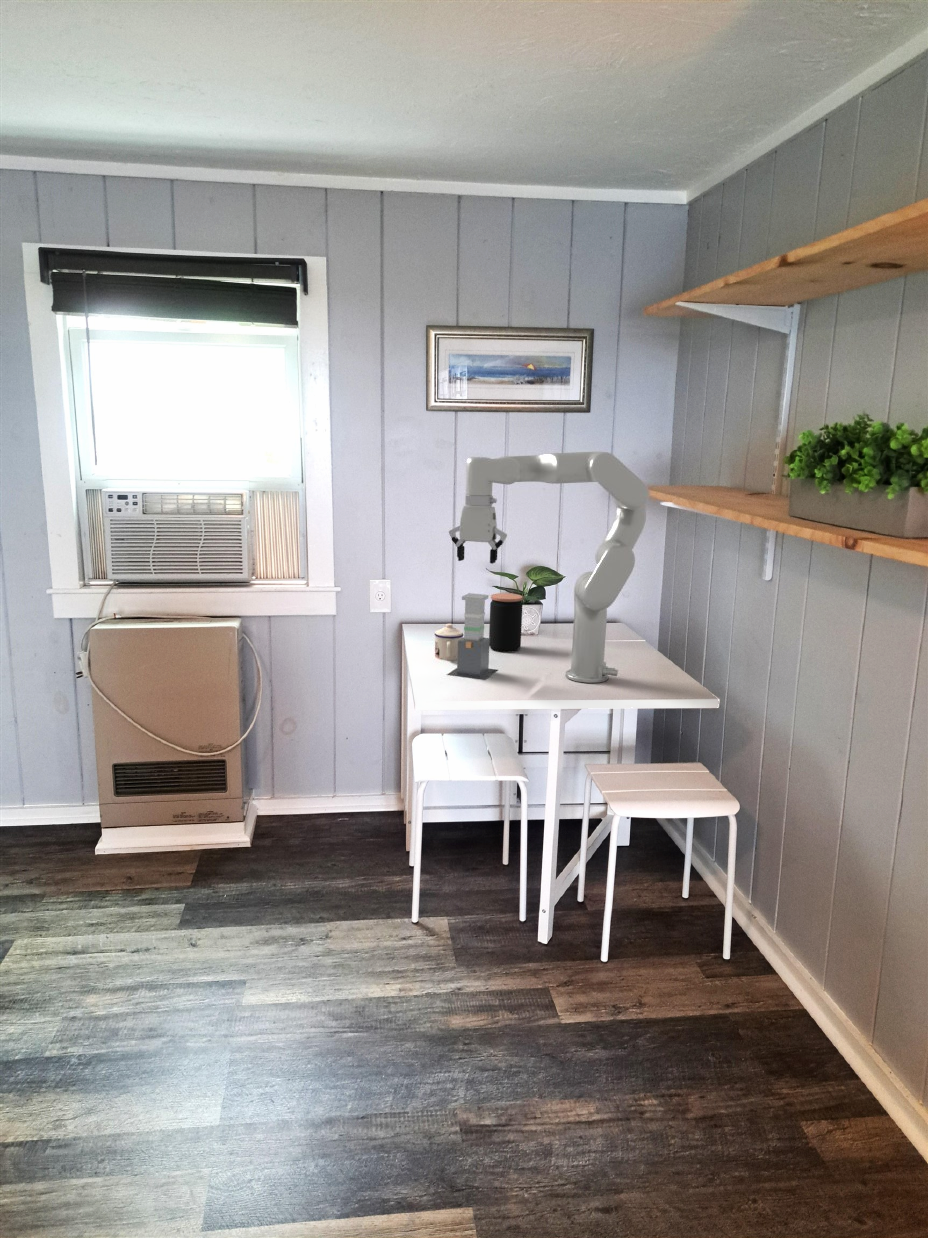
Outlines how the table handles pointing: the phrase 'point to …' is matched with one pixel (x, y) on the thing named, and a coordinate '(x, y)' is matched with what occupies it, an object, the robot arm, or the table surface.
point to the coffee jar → (505, 622)
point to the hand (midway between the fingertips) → (476, 561)
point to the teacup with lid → (447, 642)
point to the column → (474, 616)
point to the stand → (473, 660)
